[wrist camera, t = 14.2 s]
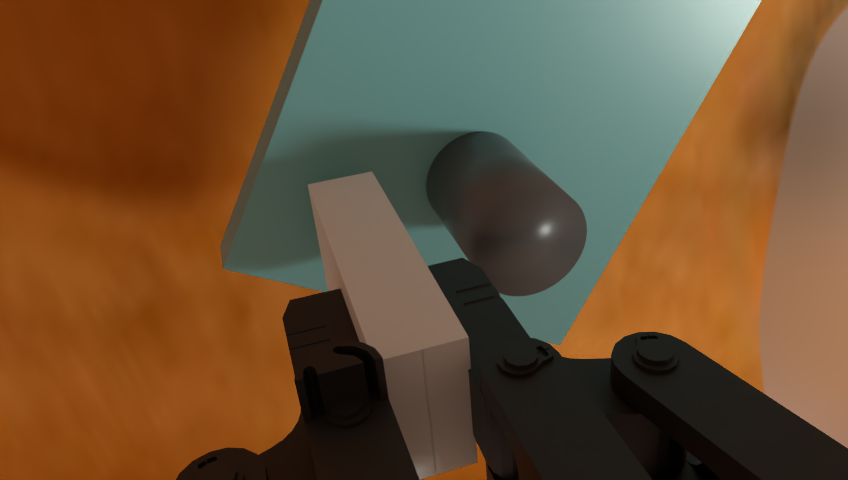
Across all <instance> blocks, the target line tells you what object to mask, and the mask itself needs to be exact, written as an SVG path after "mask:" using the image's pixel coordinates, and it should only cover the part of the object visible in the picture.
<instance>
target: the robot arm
mask: <svg viewBox="0 0 848 480" xmlns="http://www.w3.org/2000/svg"><path fill="white" fill-rule="evenodd" d="M308 189H309V194H310V200H311V205H312V210H313V216H314V221H315V226H316V231H317V237H318V242H319V247H320V252H321V258H322V263H323V268H324V274H325V279H326V284H327V287H328V290H329V291H327V292H323V293H319V294H314V295H310V296H306V297H302V298H298V299H293V300H290V301H289V304H288V306H287V309H286V311H285V313H284V316H283V323H284V327H285V332H286V336H287V341H288V346H289V350H290V355H291V360H292V364H293V369H294V374H295V385H296V389H297V393H298V397H299V402H300V406H301V414H300V417H299V420H298V422H297V424H296V426H295V427H294V429H293V430H292V432H290V433H289V434H288V435H287V436H286V437H285V438H284V439H283V440H282V441H281V442H279V443H278V444H276V445H275V446H273V447H272V448H270V449H268V450H267V451H265V452H263V453H261V454H259V455H257V454H255V453H253V452H251V451H248V450H246V449H244V448H224V449H220V450H216V451H212V452H209V453H207V454H205V455H203V456H201V457H200V458H198V459H196V460H194V461H192V462H191V463H190V464H189V465H188V466H187V467H186V468H185V469H184V470H183V471H182V472H181V473H180V474H179V475H178V477H177V479H176V480H420V479H423V478H427V477H430V476H433V475H437V474H440V473H443V472H447V471H450V470H453V469H457V468H460V467H463V466H467V465H470V464H473V463H477V462H478V461H477V447H476V441H477V443H478V445H479V448H480V450H481V452H482V454H483V456H484V458H485V460H486V472H487V480H848V448H846V447H845V446H843V445H841V444H840V443H838V442H837V441H835V440H834V439H832V438H831V437H829V436H828V435H826V434H825V433H823V432H822V431H820V430H819V429H817V428H816V427H814V426H812V425H811V424H809V423H808V422H806V421H805V420H803V419H802V418H800V417H799V416H797V415H796V414H794V413H792V412H791V411H790V410H788V409H786V408H785V407H783V406H782V405H780V404H779V403H777V402H776V401H774V400H773V399H771V398H770V397H768V396H767V395H765V394H764V393H762V392H761V391H759V390H757V389H756V388H754V387H753V386H751V385H750V384H748V383H747V382H745V381H744V380H742V379H741V378H739V377H738V376H736V375H735V374H733V373H731V372H730V371H728V370H727V369H725V368H724V367H722V366H721V365H719V364H718V363H716V362H715V361H713V360H712V359H710V358H709V357H707V356H705V355H704V354H702V353H701V352H699V351H698V350H696V349H695V348H693V347H692V346H690V345H689V344H687V343H686V342H684V341H682V340H680V339H678V338H675V337H673V336H671V335H667V334H662V333H657V332H638V333H635V334H631V335H628V336H625V337H624V338H622V339H621V340H620V341H618V342H617V343H616V344H615V346H614V348H613V351H612V354H611V358H606V359H570V358H565V357H562V356H561V355H560V354H559V352H558V351H557V350H555V349H554V348H553V347H552V346H551V345H550V344H548V343H546V342H543V341H541V340H538V339H536V338H530V336H529V335H528V334H527V332H526V331H525V329H524V328H523V327H522V325H521V324H520V322H519V321H518V319H517V318H516V317H515V315H514V314H513V312H512V311H511V310H510V308H509V307H508V305H507V304H506V302H505V301H504V300H503V298H502V297H500V294H499V293H498V291H497V290H496V288H495V287H494V285H493V286H492V283H491V281H490V280H489V278H488V277H487V276H486V274H485V273H484V271H483V270H482V268H480V267H478V266H477V265H475V264H473V263H471V262H469V261H468V260H466V259H464V258H459V259H455V260H450V261H446V262H442V263H438V264H433V265H429V266H427V265H426V263H425V261H424V260H423V258H422V256H421V254H420V253H419V251H418V249H417V248H416V246H415V244H414V242H413V241H412V239H411V237H410V236H409V234H408V232H407V230H406V229H405V227H404V225H403V224H402V222H401V220H400V218H399V217H398V215H397V213H396V212H395V210H394V208H393V206H392V205H391V203H390V201H389V200H388V198H387V196H386V194H385V193H384V191H383V189H382V188H381V186H380V184H379V182H378V181H377V179H376V177H375V176H374V174H373V172H372V171H371V172H366V173H361V174H356V175H352V176H347V177H342V178H337V179H332V180H327V181H322V182H317V183H312V184H308Z"/></svg>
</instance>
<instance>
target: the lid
mask: <svg viewBox="0 0 848 480" xmlns="http://www.w3.org/2000/svg"><path fill="white" fill-rule="evenodd" d="M760 2H761V0H310V1H309V4H308V7H307V10H306V12H305V15H304V18H303V21H302V23H301V26H300V29H299V32H298V34H297V37H296V40H295V43H294V45H293V48H292V51H291V54H290V56H289V59H288V62H287V65H286V67H285V70H284V73H283V76H282V78H281V81H280V84H279V87H278V89H277V92H276V95H275V98H274V100H273V103H272V106H271V109H270V111H269V114H268V117H267V119H266V122H265V125H264V128H263V130H262V133H261V136H260V139H259V141H258V144H257V147H256V150H255V152H254V155H253V158H252V161H251V163H250V166H249V169H248V172H247V174H246V177H245V180H244V183H243V185H242V188H241V191H240V194H239V196H238V199H237V202H236V205H235V207H234V210H233V213H232V216H231V218H230V221H229V224H228V227H227V229H226V232H225V235H224V238H223V240H222V243H221V254H222V263H223V269H226V270H230V271H234V272H239V273H243V274H248V275H252V276H257V277H261V278H265V279H270V280H274V281H279V282H283V283H287V284H292V285H296V286H301V287H305V288H310V289H314V290H318V291H323V292H327V291H329V290H328V287H327V284H326V279H325V274H324V268H323V263H322V258H321V252H320V247H319V242H318V237H317V231H316V226H315V221H314V216H313V210H312V205H311V200H310V194H309V189H308V184H312V183H317V182H322V181H327V180H332V179H337V178H342V177H347V176H352V175H356V174H361V173H366V172H371V171H372V172H373V174H374V176H375V177H376V179H377V181H378V182H379V184H380V186H381V188H382V189H383V191H384V193H385V194H386V196H387V198H388V200H389V201H390V203H391V205H392V206H393V208H394V210H395V212H396V213H397V215H398V217H399V218H400V220H401V222H402V224H403V225H404V227H405V229H406V230H407V232H408V234H409V236H410V237H411V239H412V241H413V242H414V244H415V246H416V248H417V249H418V251H419V253H420V254H421V256H422V258H423V260H424V261H425V263H426V265H427V266H429V265H433V264H438V263H442V262H446V261H450V260H455V259H459V258H464V259H466V260H468V261H469V262H471V263H473V264H475V265H477V266H478V267H480V268H482V270H483V271H484V273H485V274H486V276H487V277H488V278H489V280H490V281H491V283H492V286H493V285H494V287H495V288H496V290H497V291H498V293H499V294H500V297H502V298H503V300H504V301H505V302H506V304H507V305H508V307H509V308H510V310H511V311H512V312H513V314H514V315H515V317H516V318H517V319H518V321H519V322H520V324H521V325H522V327H523V328H524V329H525V331H526V332H527V334H528V335H529V336H530V338H536V339H538V340H541V341H544V342H549V343H553V344H557V345H560V344H561V343H562V341H563V339H564V337H565V336H566V334H567V332H568V331H569V329H570V327H571V325H572V324H573V322H574V320H575V319H576V317H577V315H578V313H579V312H580V310H581V308H582V307H583V305H584V303H585V301H586V300H587V298H588V296H589V295H590V293H591V291H592V290H593V288H594V286H595V284H596V283H597V281H598V279H599V278H600V276H601V274H602V272H603V271H604V269H605V267H606V266H607V264H608V262H609V260H610V259H611V257H612V255H613V254H614V252H615V250H616V248H617V247H618V245H619V243H620V242H621V240H622V238H623V236H624V235H625V233H626V231H627V230H628V228H629V226H630V224H631V223H632V221H633V219H634V218H635V216H636V214H637V213H638V211H639V209H640V207H641V206H642V204H643V202H644V201H645V199H646V197H647V195H648V194H649V192H650V190H651V189H652V187H653V185H654V183H655V182H656V180H657V178H658V177H659V175H660V173H661V171H662V170H663V168H664V166H665V165H666V163H667V161H668V159H669V158H670V156H671V154H672V153H673V151H674V149H675V147H676V146H677V144H678V142H679V141H680V139H681V137H682V136H683V134H684V132H685V130H686V129H687V127H688V125H689V124H690V122H691V120H692V118H693V117H694V115H695V113H696V112H697V110H698V108H699V106H700V105H701V103H702V101H703V100H704V98H705V96H706V94H707V93H708V91H709V89H710V88H711V86H712V84H713V82H714V81H715V79H716V77H717V76H718V74H719V72H720V70H721V69H722V67H723V65H724V64H725V62H726V60H727V59H728V57H729V55H730V53H731V52H732V50H733V48H734V47H735V45H736V43H737V41H738V40H739V38H740V36H741V35H742V33H743V31H744V29H745V28H746V26H747V24H748V23H749V21H750V19H751V17H752V16H753V14H754V12H755V11H756V9H757V7H758V5H759V4H760Z"/></svg>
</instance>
